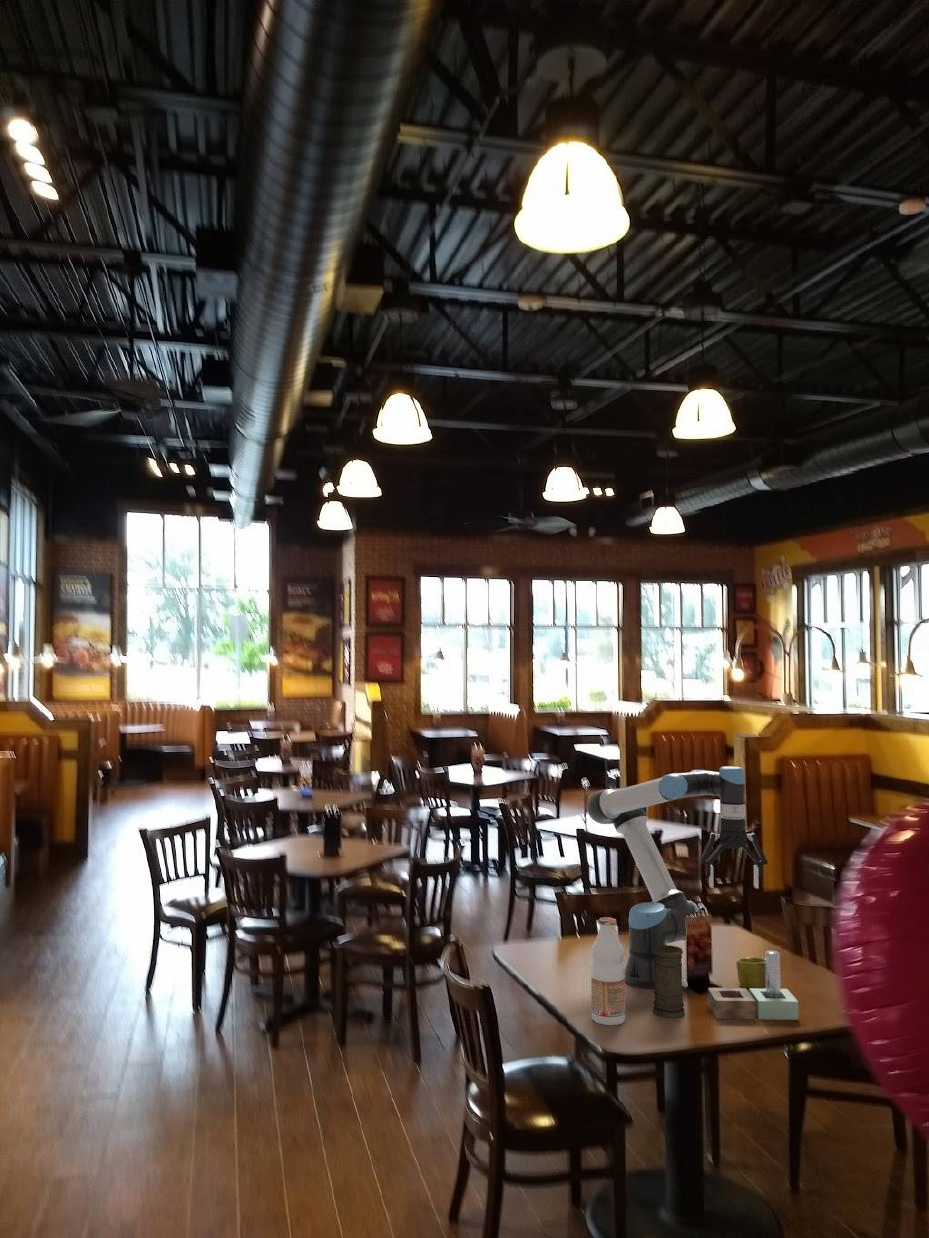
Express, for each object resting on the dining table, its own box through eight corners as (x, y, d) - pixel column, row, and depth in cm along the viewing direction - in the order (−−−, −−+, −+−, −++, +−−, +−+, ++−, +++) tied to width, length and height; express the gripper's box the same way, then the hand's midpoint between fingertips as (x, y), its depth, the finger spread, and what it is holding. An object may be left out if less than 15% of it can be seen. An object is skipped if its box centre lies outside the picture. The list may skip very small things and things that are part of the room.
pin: (768, 1014, 279) (767, 954, 280) (764, 1009, 283) (763, 950, 284) (782, 1015, 279) (781, 954, 280) (778, 1010, 283) (777, 950, 284)
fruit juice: (586, 1022, 273) (585, 920, 275) (598, 1011, 282) (597, 913, 283) (618, 1028, 269) (617, 925, 270) (629, 1017, 277) (629, 917, 278)
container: (678, 1019, 275) (677, 955, 276) (648, 1014, 280) (647, 950, 281) (689, 1010, 283) (688, 947, 284) (659, 1004, 288) (658, 942, 288)
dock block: (759, 1019, 276) (758, 1001, 276) (749, 1005, 287) (749, 988, 287) (798, 1019, 275) (798, 1001, 275) (787, 1006, 286) (787, 988, 286)
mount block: (716, 1018, 276) (715, 1000, 276) (708, 1004, 287) (707, 987, 287) (755, 1019, 276) (755, 1001, 276) (746, 1005, 287) (745, 988, 287)
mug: (776, 987, 297) (764, 953, 300) (743, 995, 299) (731, 962, 302) (774, 982, 309) (763, 950, 312) (742, 991, 311) (731, 958, 314)
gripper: (694, 819, 298) (695, 889, 297) (777, 819, 296) (778, 890, 295) (689, 815, 305) (690, 884, 304) (770, 815, 304) (771, 884, 303)
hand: (733, 887), depth 300 cm, fingers open, 13 cm apart
